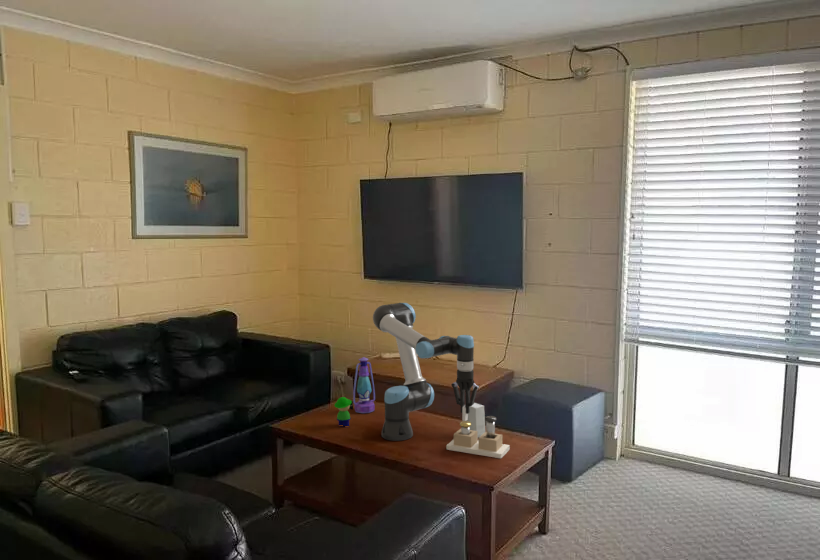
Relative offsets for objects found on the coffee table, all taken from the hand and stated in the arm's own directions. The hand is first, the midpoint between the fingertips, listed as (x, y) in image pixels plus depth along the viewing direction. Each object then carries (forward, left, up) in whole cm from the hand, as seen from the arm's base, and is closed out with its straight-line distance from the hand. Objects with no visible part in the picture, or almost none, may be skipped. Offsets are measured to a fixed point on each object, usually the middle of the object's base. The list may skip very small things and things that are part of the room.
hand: (465, 419), depth 285 cm
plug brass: (0, 0, -11) cm, 11 cm away
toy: (-68, +3, -13) cm, 69 cm away
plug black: (+12, 0, -7) cm, 14 cm away
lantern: (-71, +29, -13) cm, 77 cm away
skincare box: (-2, +18, -13) cm, 22 cm away
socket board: (+6, 0, -13) cm, 14 cm away
